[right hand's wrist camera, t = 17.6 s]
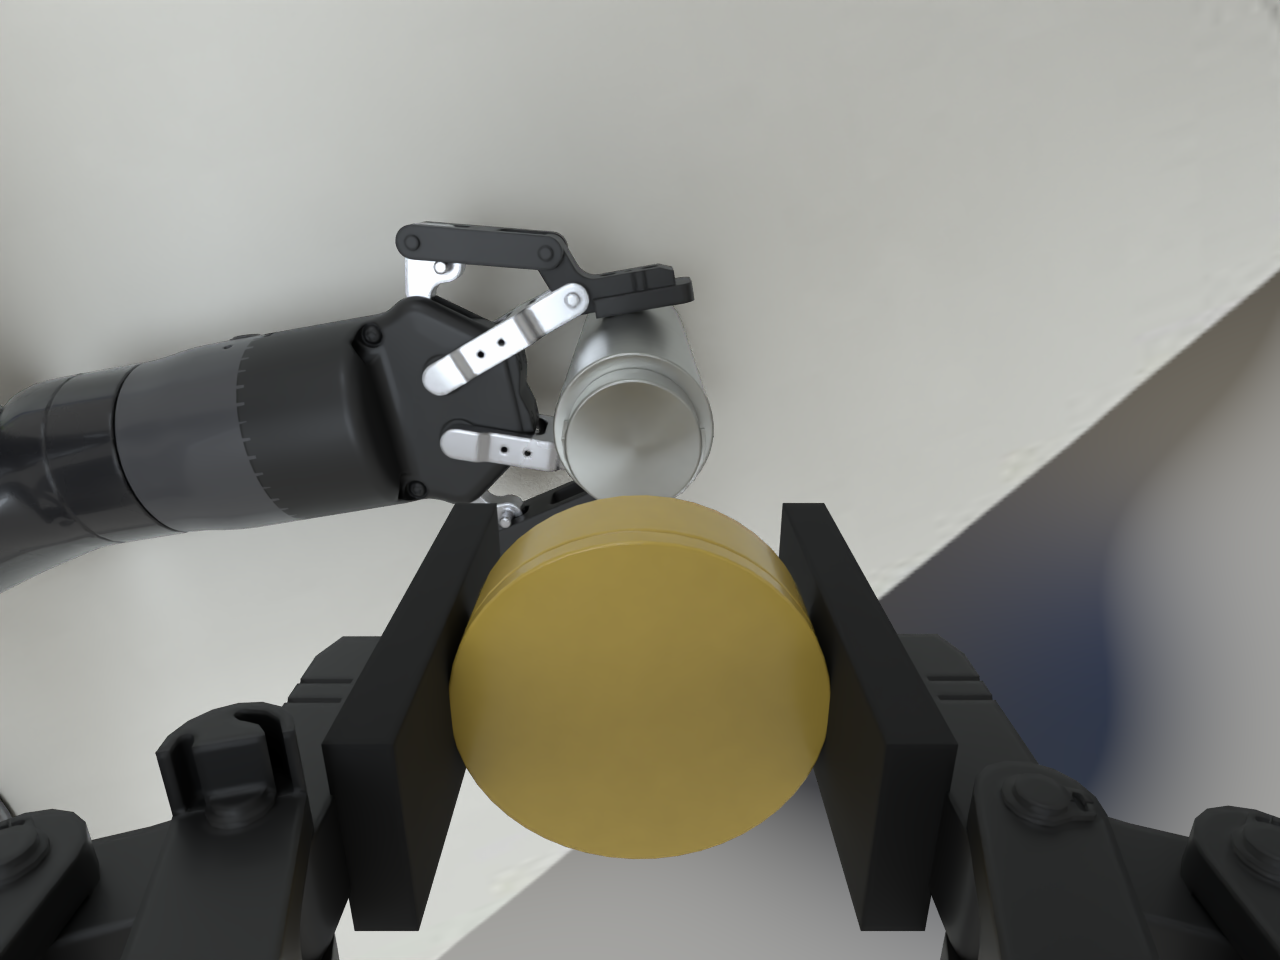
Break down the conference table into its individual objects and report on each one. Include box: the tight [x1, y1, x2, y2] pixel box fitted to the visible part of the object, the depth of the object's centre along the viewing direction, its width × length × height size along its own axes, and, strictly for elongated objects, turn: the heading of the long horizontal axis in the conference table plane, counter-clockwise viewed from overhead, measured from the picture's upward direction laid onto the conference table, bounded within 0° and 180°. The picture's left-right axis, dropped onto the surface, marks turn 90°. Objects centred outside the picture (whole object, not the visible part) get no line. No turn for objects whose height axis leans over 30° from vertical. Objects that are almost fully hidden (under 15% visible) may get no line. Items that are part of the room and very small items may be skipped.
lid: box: [449, 495, 830, 859], centre depth 12 cm, size 5×5×2 cm
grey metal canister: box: [553, 306, 714, 500], centre depth 30 cm, size 5×5×16 cm
